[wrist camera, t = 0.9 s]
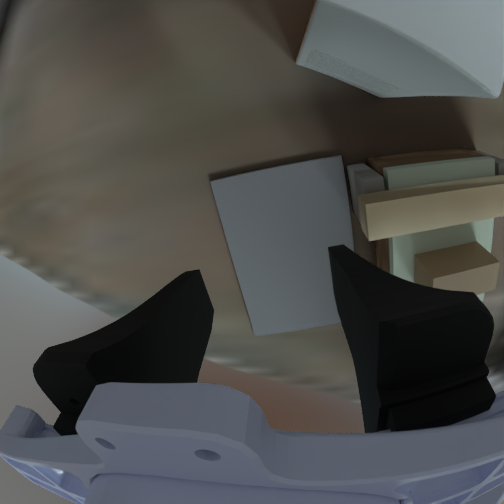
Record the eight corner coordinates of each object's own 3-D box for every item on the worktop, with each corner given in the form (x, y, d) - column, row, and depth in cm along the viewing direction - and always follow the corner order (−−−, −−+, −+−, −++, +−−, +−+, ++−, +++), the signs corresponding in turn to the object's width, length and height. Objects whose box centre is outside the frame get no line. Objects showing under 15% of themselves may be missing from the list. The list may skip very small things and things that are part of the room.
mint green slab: (474, 316, 20) (494, 346, 17) (388, 339, 22) (401, 374, 18) (487, 156, 15) (523, 169, 11) (382, 167, 16) (407, 183, 13)
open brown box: (469, 289, 23) (492, 318, 19) (361, 315, 25) (372, 351, 21) (475, 146, 18) (510, 157, 14) (345, 161, 20) (362, 174, 16)
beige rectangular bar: (517, 201, 15) (531, 210, 13) (361, 228, 17) (368, 241, 15) (518, 173, 14) (533, 180, 12) (357, 195, 16) (365, 204, 14)
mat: (358, 316, 25) (358, 319, 25) (255, 333, 27) (255, 335, 26) (340, 154, 20) (341, 155, 19) (211, 180, 21) (210, 181, 21)
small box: (325, -28, 14) (367, -142, 2) (409, 8, 14) (520, -54, 2) (291, 65, 17) (312, -3, 6) (380, 101, 18) (504, 104, 6)
